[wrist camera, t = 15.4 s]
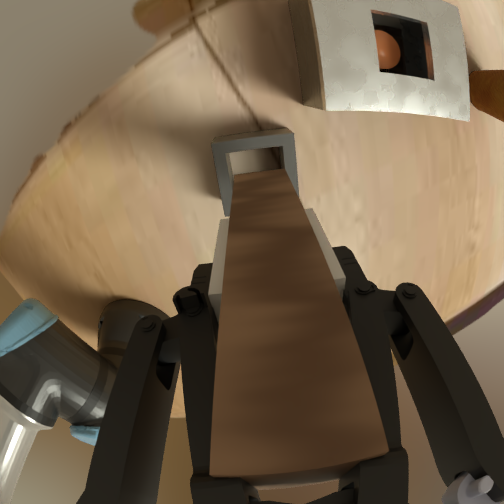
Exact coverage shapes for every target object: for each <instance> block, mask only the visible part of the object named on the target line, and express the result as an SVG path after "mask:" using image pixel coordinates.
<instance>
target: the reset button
mask: <svg viewBox="0 0 504 504" xmlns="http://www.w3.org/2000/svg"><path fill="white" fill-rule="evenodd" d="M374 32H375V38H376V45H377V52H378V60H379V69H389V68H392V67H394V66H396V65H397V64H398V62H399V60H400V49H399V46H398V44H397V42H396V41H395V39H394V38H393V37H392V36H391V35H389V34H388V33H386V32H384V31H381V30H374Z"/></svg>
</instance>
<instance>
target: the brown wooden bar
mask: <svg viewBox="0 0 504 504" xmlns="http://www.w3.org/2000/svg"><path fill="white" fill-rule="evenodd" d="M387 452H389V448H388V444H387V440H386V436H385V432H384V428H383V425H382V421H381V417H380V414H379V410H378V407H377V403H376V400H375V396H374V393H373V390H372V386H371V383H370V380H369V377H368V374H367V370H366V367H365V364H364V361H363V358H362V355H361V352H360V349H359V346H358V343H357V340H356V338H355V335H354V332H353V329H352V326H351V323H350V321H349V318H348V315H347V312H346V310H345V307H344V304H343V302H342V299H341V297H340V294H339V291H338V289H337V286H336V284H335V281H334V279H333V276H332V274H331V271H330V269H329V266H328V264H327V261H326V259H325V256H324V254H323V252H322V249H321V247H320V244H319V242H318V240H317V237H316V235H315V233H314V231H313V228H312V226H311V224H310V221H309V219H308V217H307V215H306V213H305V210H304V208H303V206H302V204H301V202H300V199H299V197H298V195H297V193H296V191H295V189H294V187H293V184H292V182H291V180H290V178H289V176H288V174H287V172H286V170H285V169H276V170H268V171H260V172H252V173H244V174H237V175H235V176H234V184H233V192H232V201H231V209H230V218H229V227H228V236H227V245H226V255H225V265H224V275H223V285H222V296H221V306H220V318H219V329H218V342H217V354H216V368H215V382H214V397H213V413H212V430H211V450H210V474H209V475H211V476H213V477H240V478H242V479H243V480H245V481H246V482H247V483H249V484H250V485H252V486H253V487H255V488H256V489H257V490H266V489H280V488H290V487H299V486H306V485H313V484H319V483H325V482H330V481H335V480H339V479H340V478H341V477H342V476H344V475H345V474H346V473H347V472H348V471H350V470H351V469H352V468H353V467H354V466H355V465H357V464H358V463H359V462H360V461H363V460H367V459H371V458H375V457H379V456H382V455H385V454H386V453H387Z"/></svg>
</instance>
